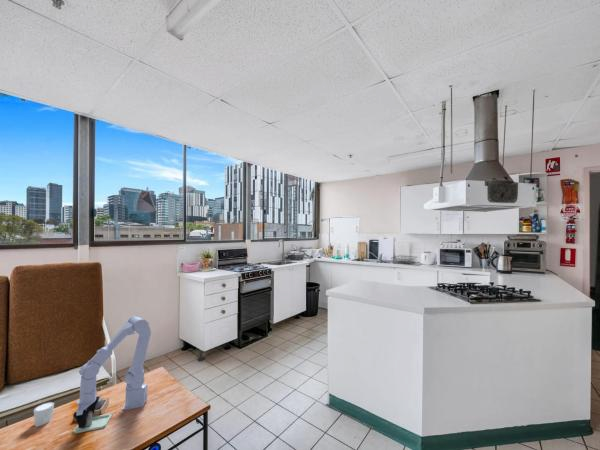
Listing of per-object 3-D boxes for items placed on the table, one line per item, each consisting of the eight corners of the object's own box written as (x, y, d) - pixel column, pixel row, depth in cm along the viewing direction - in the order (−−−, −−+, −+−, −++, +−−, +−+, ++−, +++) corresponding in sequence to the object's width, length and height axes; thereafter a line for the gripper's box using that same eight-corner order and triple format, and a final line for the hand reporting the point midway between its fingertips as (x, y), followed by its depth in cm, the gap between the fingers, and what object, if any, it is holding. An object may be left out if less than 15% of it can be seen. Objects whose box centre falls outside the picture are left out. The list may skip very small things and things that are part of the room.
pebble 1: (93, 421, 118) (94, 410, 118) (89, 427, 114) (90, 415, 114) (83, 423, 117) (83, 411, 117) (78, 429, 113) (79, 417, 113)
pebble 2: (104, 407, 127) (105, 397, 127) (100, 413, 123) (100, 402, 123) (95, 408, 126) (96, 398, 127) (90, 414, 122) (91, 403, 123)
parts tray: (112, 415, 122) (112, 413, 122) (104, 428, 114) (105, 425, 114) (82, 421, 118) (82, 418, 118) (72, 434, 110) (72, 431, 110)
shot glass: (40, 428, 114) (41, 412, 114) (28, 426, 115) (29, 410, 115) (57, 418, 120) (58, 402, 121) (46, 415, 122) (47, 400, 122)
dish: (108, 405, 130) (108, 398, 130) (100, 416, 121) (101, 410, 121) (82, 409, 126) (82, 402, 127) (72, 421, 118) (73, 414, 118)
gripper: (85, 383, 122) (83, 412, 121) (68, 401, 108) (66, 434, 107) (102, 380, 124) (101, 409, 123) (88, 398, 110) (86, 431, 109)
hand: (86, 421), depth 115 cm, fingers open, 7 cm apart
